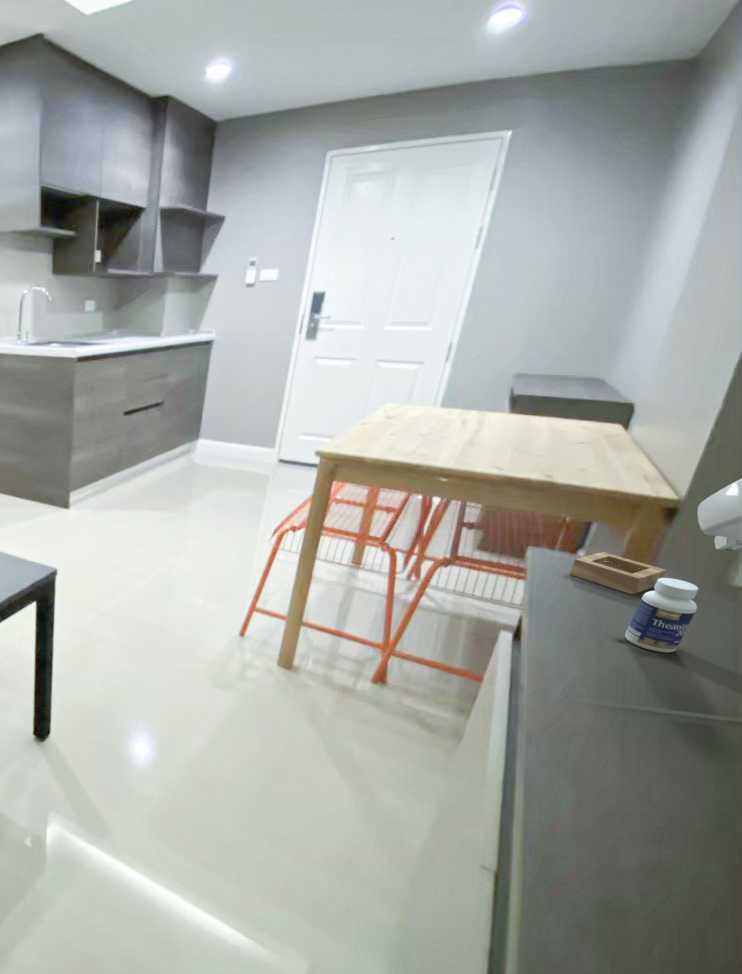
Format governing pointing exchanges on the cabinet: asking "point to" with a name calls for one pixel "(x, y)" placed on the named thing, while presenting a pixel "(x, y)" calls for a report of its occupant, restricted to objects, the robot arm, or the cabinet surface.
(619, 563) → the socket pad
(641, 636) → the pill bottle
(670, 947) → the cabinet surface
